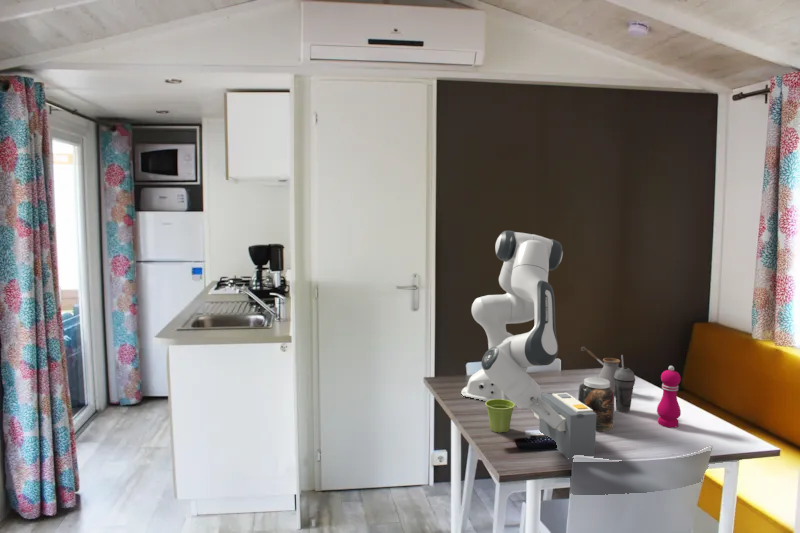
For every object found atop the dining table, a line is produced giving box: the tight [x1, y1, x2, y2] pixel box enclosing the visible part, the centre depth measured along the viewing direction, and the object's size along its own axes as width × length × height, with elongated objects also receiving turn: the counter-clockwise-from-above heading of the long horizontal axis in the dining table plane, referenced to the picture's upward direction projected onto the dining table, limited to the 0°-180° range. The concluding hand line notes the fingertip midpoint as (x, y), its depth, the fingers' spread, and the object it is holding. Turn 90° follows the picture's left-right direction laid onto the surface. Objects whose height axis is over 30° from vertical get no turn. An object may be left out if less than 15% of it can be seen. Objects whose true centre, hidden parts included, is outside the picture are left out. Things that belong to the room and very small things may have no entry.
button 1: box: [533, 406, 551, 421], centre depth 185 cm, size 5×4×4 cm
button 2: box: [556, 415, 566, 431], centre depth 176 cm, size 5×4×4 cm
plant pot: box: [484, 399, 516, 434], centre depth 194 cm, size 9×9×9 cm
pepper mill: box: [656, 365, 682, 429], centre depth 199 cm, size 7×7×20 cm
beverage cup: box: [614, 354, 636, 414], centre depth 212 cm, size 7×7×20 cm
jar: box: [577, 376, 615, 432], centre depth 199 cm, size 12×12×15 cm
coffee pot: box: [580, 346, 621, 392], centre depth 238 cm, size 21×12×15 cm, turn 28°
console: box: [538, 391, 597, 460], centre depth 182 cm, size 8×20×14 cm, turn 12°
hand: (555, 423), depth 176 cm, fingers closed, pressing on button 2
